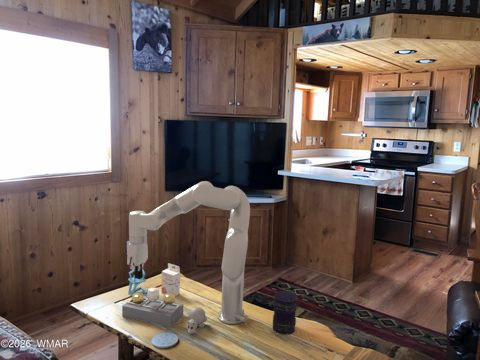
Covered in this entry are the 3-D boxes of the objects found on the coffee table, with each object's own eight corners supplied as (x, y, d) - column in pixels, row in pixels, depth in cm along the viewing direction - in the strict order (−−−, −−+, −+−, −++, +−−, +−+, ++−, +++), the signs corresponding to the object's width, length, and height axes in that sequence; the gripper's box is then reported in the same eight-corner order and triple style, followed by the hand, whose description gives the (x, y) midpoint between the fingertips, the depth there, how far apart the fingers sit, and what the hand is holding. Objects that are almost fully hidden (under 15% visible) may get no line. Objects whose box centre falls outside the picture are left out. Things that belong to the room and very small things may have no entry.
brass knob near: (176, 300, 167) (177, 294, 166) (171, 305, 162) (171, 298, 161) (166, 298, 168) (167, 292, 168) (161, 303, 163) (161, 296, 163)
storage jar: (267, 327, 163) (269, 294, 161) (283, 320, 169) (285, 289, 167) (284, 337, 155) (286, 303, 153) (300, 330, 161) (302, 297, 159)
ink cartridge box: (160, 292, 191) (161, 265, 189) (167, 289, 195) (168, 262, 193) (173, 297, 187) (173, 269, 185) (180, 293, 191) (180, 266, 189)
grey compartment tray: (183, 314, 171) (183, 302, 170) (170, 327, 159) (170, 315, 158) (137, 304, 178) (137, 293, 177) (122, 316, 167) (122, 304, 166)
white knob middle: (161, 297, 169) (161, 288, 168) (155, 301, 164) (155, 293, 164) (151, 295, 171) (151, 286, 170) (145, 299, 166) (145, 291, 165)
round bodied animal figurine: (182, 337, 157) (178, 323, 153) (195, 315, 166) (191, 301, 162) (197, 341, 154) (194, 327, 150) (209, 318, 164) (206, 304, 160)
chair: (125, 292, 191) (125, 269, 189) (140, 287, 196) (140, 265, 194) (132, 297, 185) (132, 274, 183) (148, 292, 190) (148, 270, 189)
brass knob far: (145, 300, 172) (145, 294, 171) (139, 304, 167) (139, 298, 167) (136, 298, 173) (136, 292, 173) (129, 302, 169) (129, 296, 168)
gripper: (140, 233, 174) (140, 271, 177) (120, 242, 160) (121, 283, 163) (154, 235, 172) (154, 273, 175) (135, 244, 158) (136, 286, 161)
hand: (138, 278), depth 169 cm, fingers closed
